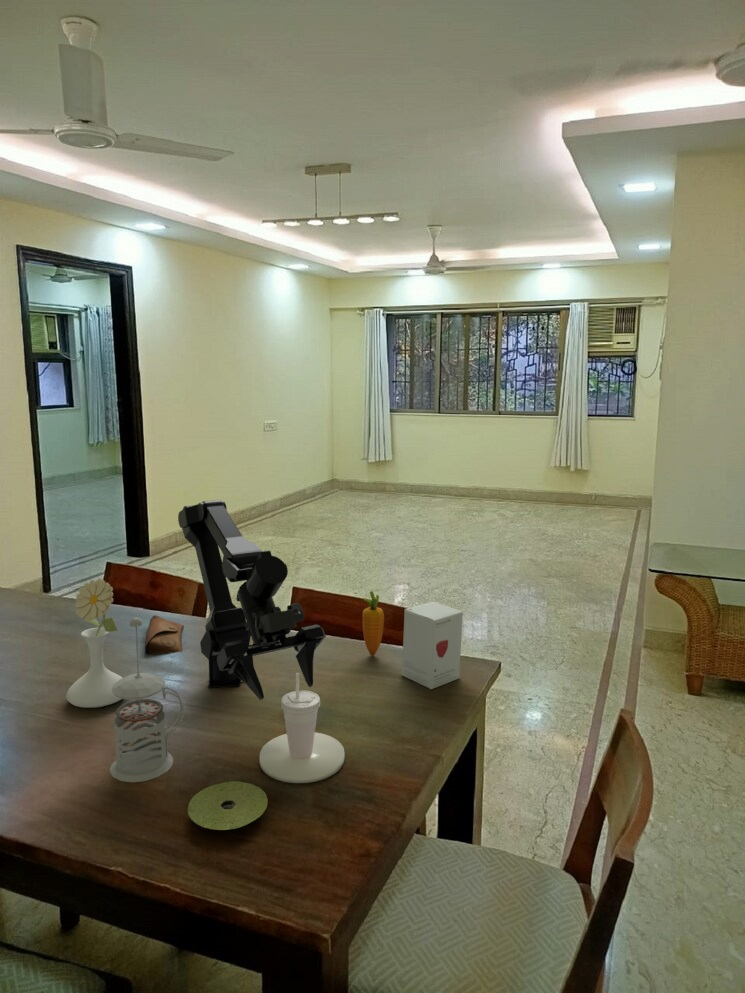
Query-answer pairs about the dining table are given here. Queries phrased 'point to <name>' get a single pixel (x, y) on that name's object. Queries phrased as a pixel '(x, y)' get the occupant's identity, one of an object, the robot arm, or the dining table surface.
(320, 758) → the plate
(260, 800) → the green disc
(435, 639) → the supplement box
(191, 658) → the dining table surface
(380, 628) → the carrot
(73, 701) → the flower in vase
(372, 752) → the dining table surface
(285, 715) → the smoothie
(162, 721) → the french press
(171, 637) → the sunglasses case
